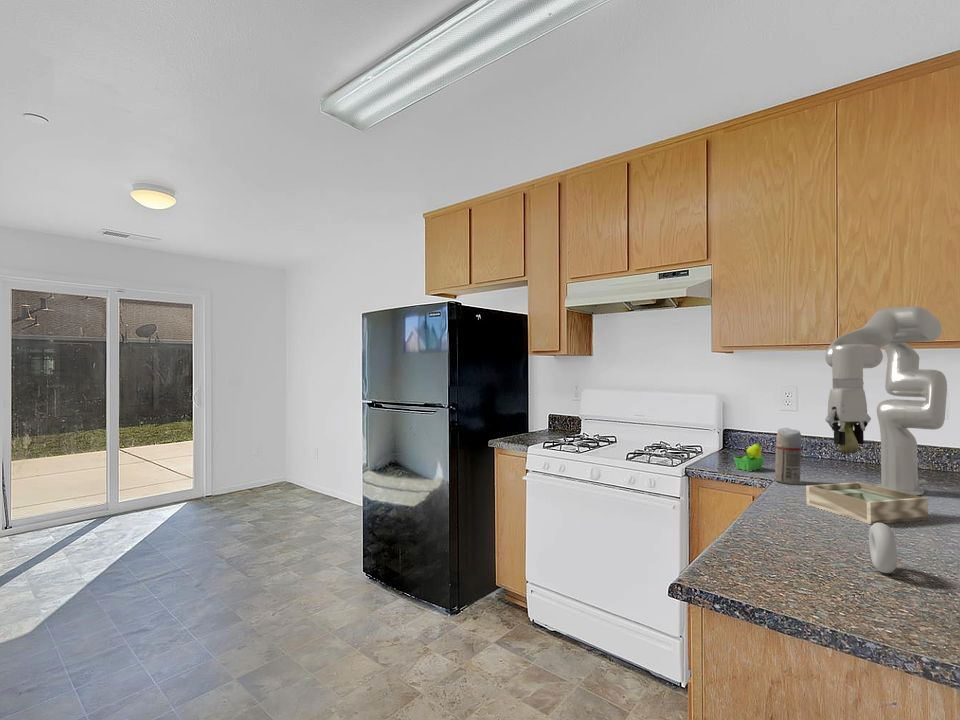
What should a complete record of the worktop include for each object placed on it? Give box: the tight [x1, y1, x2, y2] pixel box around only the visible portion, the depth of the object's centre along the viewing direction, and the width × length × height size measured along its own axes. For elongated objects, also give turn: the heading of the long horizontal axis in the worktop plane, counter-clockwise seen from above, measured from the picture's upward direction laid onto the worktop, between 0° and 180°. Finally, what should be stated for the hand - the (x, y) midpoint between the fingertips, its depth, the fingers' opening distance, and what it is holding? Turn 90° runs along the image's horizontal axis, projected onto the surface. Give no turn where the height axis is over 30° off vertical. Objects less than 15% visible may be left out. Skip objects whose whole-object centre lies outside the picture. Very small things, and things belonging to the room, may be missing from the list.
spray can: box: [774, 427, 802, 485], centre depth 183 cm, size 8×8×20 cm
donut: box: [868, 523, 898, 574], centre depth 102 cm, size 10×4×10 cm, turn 151°
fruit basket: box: [733, 443, 766, 472], centre depth 206 cm, size 11×9×11 cm
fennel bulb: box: [837, 422, 860, 454], centre depth 149 cm, size 6×5×12 cm
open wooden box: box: [805, 481, 929, 525], centre depth 144 cm, size 20×20×6 cm
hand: (848, 443), depth 149 cm, fingers closed on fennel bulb, 5 cm apart
